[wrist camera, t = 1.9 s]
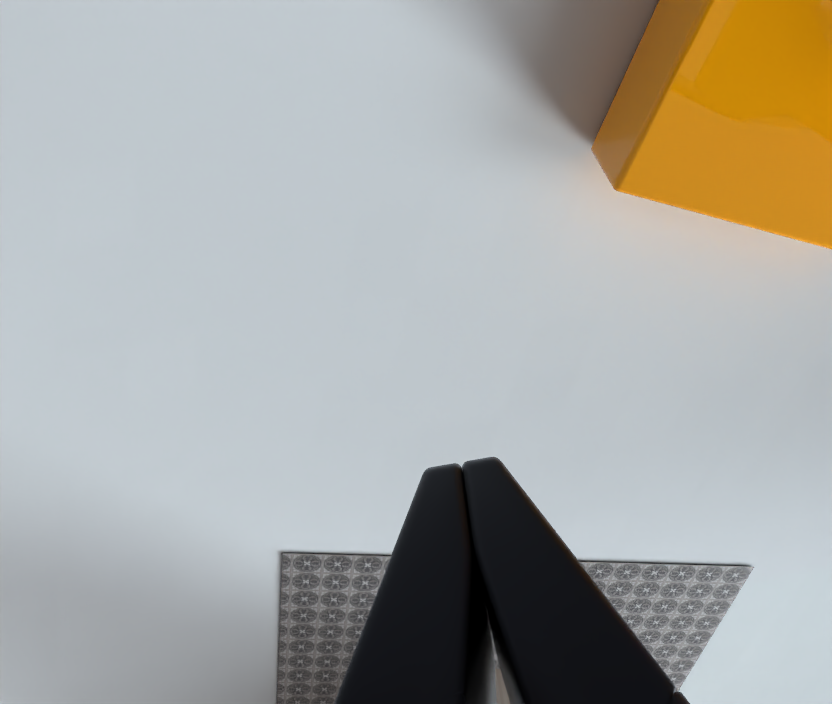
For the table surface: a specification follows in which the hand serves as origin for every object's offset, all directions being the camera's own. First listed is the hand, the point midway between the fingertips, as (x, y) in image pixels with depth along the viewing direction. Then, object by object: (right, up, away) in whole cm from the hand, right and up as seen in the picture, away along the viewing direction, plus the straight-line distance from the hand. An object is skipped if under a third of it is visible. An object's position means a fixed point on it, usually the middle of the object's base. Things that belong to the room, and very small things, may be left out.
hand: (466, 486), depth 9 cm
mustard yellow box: (+9, +9, +9) cm, 15 cm away
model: (+2, -16, +27) cm, 31 cm away
